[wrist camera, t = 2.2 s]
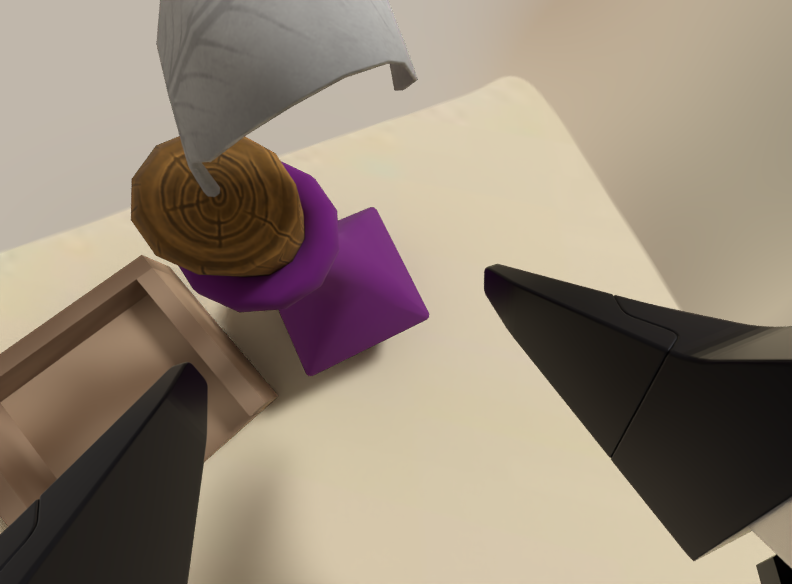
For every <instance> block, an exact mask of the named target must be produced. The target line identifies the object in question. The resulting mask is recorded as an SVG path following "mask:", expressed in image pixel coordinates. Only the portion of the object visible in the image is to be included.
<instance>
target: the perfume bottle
mask: <svg viewBox="0 0 792 584" xmlns="http://www.w3.org/2000/svg"><path fill="white" fill-rule="evenodd" d="M157 49H158V53H159V57H160V61H161V66H162V70H163V74H164V79H165V83H166V87H167V91H168V96H169V99H170V103H171V106H172V110H173V114H174V117H175V121H176V124H177V128H178V131H179V135H180V136H179V137H176V138H174V139H171V140H169V141H166V142H164V143H161V144H159V145H156V146H155V148H154V149H153V150H152V152H151V153H150V155H149V156H148V158H147V159H146V160H145V162H144V163H143V164H142V166H141V167H140V168H139V170H138V171H137V172H136V174H135V175H134V177H133V178H132V192H131V221H132V222H133V223H134V225H135V226H136V228H137V229H138V231H139V232H140V233H141V235H142V236H143V238H144V239H145V241H146V242H147V244H148V245H149V246H150V248H151V249H152V251H153V252H154V254H155V255H156V256H158V257H160V258H163V259H165V260H167V261H169V262H172V263H174V264H176V265H178V266H179V267H180V269H181V271H182V272H183V274H184V275H185V277H186V279H187V280H188V282H189V283H190V285H191V286H192V288H193V289H194V290H195V291H196V292H197V293H198V294H200V295H202V296H205V297H207V298H209V299H211V300H213V301H216V302H218V303H220V304H222V305H224V306H226V307H229V308H231V309H233V310H235V311H237V312H251V311H265V310H279V312H280V315H281V317H282V319H283V322H284V324H285V326H286V329H287V331H288V333H289V335H290V338H291V340H292V342H293V345H294V347H295V349H296V352H297V354H298V356H299V359H300V361H301V363H302V365H303V368H304V370H305V372H306V374H307V375H308V376H313V375H315V374H317V373H319V372H321V371H324V370H326V369H328V368H330V367H332V366H334V365H336V364H338V363H340V362H342V361H344V360H346V359H348V358H350V357H352V356H354V355H356V354H358V353H360V352H362V351H364V350H366V349H368V348H370V347H372V346H374V345H376V344H378V343H380V342H382V341H384V340H386V339H388V338H390V337H392V336H394V335H397V334H399V333H401V332H403V331H405V330H407V329H409V328H411V327H413V326H415V325H417V324H419V323H421V322H423V321H425V320H427V319H428V318H429V312H428V310H427V308H426V306H425V304H424V302H423V301H422V299H421V297H420V295H419V293H418V291H417V289H416V287H415V285H414V283H413V281H412V279H411V277H410V275H409V273H408V271H407V269H406V267H405V265H404V263H403V261H402V259H401V257H400V255H399V253H398V251H397V249H396V247H395V245H394V243H393V241H392V239H391V237H390V235H389V233H388V231H387V229H386V227H385V225H384V223H383V221H382V219H381V217H380V215H379V213H378V212H377V210H376V209H375V208H374V207H370V208H367V209H365V210H363V211H360V212H358V213H355V214H353V215H350V216H348V217H346V218H343V219H341V220H338V218H337V210H336V208H335V207H334V206H333V204H332V203H331V201H330V200H329V198H328V197H327V195H326V194H325V193H324V191H323V190H322V188H321V187H320V185H319V184H318V182H317V181H316V179H314V178H313V177H312V176H311V175H309V174H306V173H304V172H302V171H300V170H298V169H296V168H294V167H292V166H290V165H288V164H286V163H283V162H281V161H280V160H279V158H278V157H277V155H276V154H275V153H274V152H272V151H270V150H268V149H267V148H265V147H263V146H261V145H259V144H258V143H256V142H254V141H252V140H250V139H248V138H246V137H245V136H246V135H247V134H249V133H251V132H252V131H254V130H255V129H257V128H259V127H260V126H262V125H263V124H265V123H267V122H268V121H270V120H271V119H273V118H275V117H276V116H278V115H279V114H281V113H282V112H284V111H286V110H287V109H289V108H291V107H292V106H294V105H296V104H298V103H300V102H301V101H303V100H305V99H307V98H308V97H310V96H312V95H314V94H316V93H318V92H320V91H321V90H323V89H325V88H327V87H329V86H330V85H332V84H334V83H336V82H338V81H340V80H342V79H343V78H346V77H348V76H352V75H355V74H358V73H361V72H364V71H367V70H370V69H372V68H376V67H378V66H382V65H385V64H390V68H391V74H392V79H393V85H394V90H404V89H406V88H407V87H409V86H410V85H411V84H412V83H414V82H415V81H417V80H418V79H417V76H416V73H415V70H414V67H413V64H412V62H411V59H410V56H409V53H408V50H407V47H406V44H405V42H404V39H403V37H402V34H401V32H400V29H399V26H398V24H397V21H396V19H395V16H394V13H393V11H392V8H391V6H390V3H389V1H388V0H160V9H159V20H158V32H157Z"/></svg>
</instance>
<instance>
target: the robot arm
mask: <svg viewBox="0 0 792 584" xmlns="http://www.w3.org/2000/svg"><path fill="white" fill-rule="evenodd" d="M484 291H485V294H486V296H487V298H488V299H489V301H490V302H491V304H492V306H493V307H494V309H495V310H496V312H497V314H498V315H499V317H500V318H501V320H502V322H503V323H504V325H505V326H506V328H507V329H508V331H509V332H510V333H511V335H512V336H513V337H514V339H515V340H516V341H517V342H518V344H519V345H520V346H521V347H522V349H523V350H524V351H525V352H526V354H527V355H528V356H529V357H530V359H531V360H532V361H533V362H534V364H535V365H536V366H537V367H538V369H539V370H540V371H541V372H542V374H543V375H544V376H545V377H546V379H547V380H548V381H549V382H550V384H551V385H552V386H553V387H554V389H555V390H556V391H557V392H558V394H559V395H560V396H561V397H562V399H563V400H564V401H565V402H566V404H567V405H568V406H569V407H570V409H571V410H572V411H573V412H574V414H575V415H576V416H577V417H578V419H579V420H580V421H581V422H582V424H583V425H584V426H585V427H586V429H587V430H588V431H589V432H590V434H591V435H592V436H593V437H594V439H595V440H596V441H597V442H598V444H599V445H600V446H601V447H602V449H603V450H604V451H605V452H606V454H607V455H608V456H609V457H610V458H611V460H612V461H613V463H614V464H615V465H616V466H617V468H618V469H619V470H620V471H621V473H622V474H623V475H624V476H625V478H626V479H627V480H628V481H629V483H630V484H631V485H632V486H633V488H634V489H635V490H636V491H637V493H638V494H639V495H640V496H641V498H642V499H643V500H644V501H645V503H646V504H647V505H648V506H649V508H650V509H651V510H652V511H653V513H654V514H655V515H656V516H657V518H658V519H659V520H660V521H661V523H662V524H663V525H664V526H665V528H666V529H667V530H668V531H669V533H670V534H671V535H672V536H673V538H674V539H675V540H676V541H677V543H678V544H679V545H680V546H681V548H682V549H683V550H684V551H685V552H686V554H687V555H688V556H689V557H690V558H691V559H692V560H693V561H696V560H698V559H699V558H701V557H703V556H705V555H707V554H709V553H711V552H713V551H715V550H717V549H718V548H720V547H722V546H724V545H726V544H728V543H730V542H732V541H734V540H736V539H737V538H739V537H741V536H743V535H745V534H747V533H749V532H751V531H753V532H754V533H755V534H756V535H757V536H758V537H759V538H760V539H761V540H762V541H763V542H764V543H765V544H766V545H767V546H768V547H769V548H771V549H772V550H773V551H774V552H775V553H776V555H774V556H772V557H770V558H768V559H766V560H765V561H763V562H761V563H759V564H757V565H756V567H757V570H758V574H759V578H760V581H761V584H792V326H788V327H766V326H755V325H747V324H742V323H736V322H732V321H727V320H722V319H718V318H713V317H708V316H703V315H699V314H694V313H689V312H684V311H680V310H675V309H670V308H666V307H661V306H657V305H652V304H648V303H644V302H640V301H636V300H632V299H628V298H625V297H621V296H617V295H614V296H613V295H612V294H609V293H606V292H602V291H598V290H594V289H591V288H587V287H583V286H579V285H575V284H572V283H568V282H564V281H560V280H557V279H553V278H549V277H545V276H542V275H538V274H534V273H530V272H526V271H523V270H519V269H515V268H511V267H508V266H504V265H500V264H495V265H492V266H489V267H486V268H485V271H484ZM207 416H208V385H207V382H206V380H205V378H204V377H203V376H202V375H201V374H200V372H199V371H198V370H197V369H196V368H195V367H194V365H193V364H192V363H190V362H184V363H181V364H178V365H174V366H172V367H171V368H170V369H169V370H167V371H166V372H165V373H164V374H163V375H162V376H161V377H160V378H159V379H158V380H157V381H156V382H155V383H154V384H153V385H152V386H151V387H150V388H149V389H148V390H147V391H146V392H145V393H144V394H143V395H142V396H141V397H140V398H139V399H138V400H137V401H136V402H135V403H134V404H133V405H132V406H131V407H130V408H129V409H128V410H127V411H126V412H125V413H124V414H123V415H122V416H121V417H120V418H119V419H118V420H117V421H116V422H115V423H114V424H113V425H112V426H111V427H110V428H109V429H108V430H107V431H106V432H104V433H103V434H102V435H101V436H100V437H99V438H98V439H97V440H96V441H95V442H94V443H93V444H92V445H91V446H90V447H89V448H88V449H87V450H86V451H85V452H84V453H83V454H82V455H81V456H80V457H79V458H78V459H77V460H76V461H75V462H74V463H73V464H72V465H71V466H70V467H69V468H68V469H67V470H66V471H65V472H64V473H63V474H62V475H61V476H60V477H59V478H58V479H57V480H56V481H55V482H54V483H53V484H52V485H51V486H50V487H49V488H48V489H47V490H46V491H45V492H44V493H43V494H41V496H40V499H37V500H35V501H34V502H33V503H32V504H31V505H30V506H29V507H28V508H27V509H26V510H25V511H24V512H23V513H22V514H21V515H20V516H19V517H18V518H17V519H16V520H15V521H14V522H13V523H12V524H11V525H10V526H9V527H8V528H7V529H6V530H5V531H4V532H2V533H1V534H0V584H188V576H189V569H190V561H191V554H192V547H193V539H194V532H195V524H196V517H197V509H198V502H199V495H200V487H201V480H202V472H203V465H204V457H205V450H206V442H207Z"/></svg>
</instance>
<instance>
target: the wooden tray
mask: <svg viewBox="0 0 792 584" xmlns="http://www.w3.org/2000/svg"><path fill="white" fill-rule="evenodd" d="M184 362H190V363H192V364H193V365H194V367H195V368H196V369H197V370H198V371H199V372H200V374H201V375H202V376H203V377H204V378H205V380H206V382H207V385H208V416H207V442H206V450H205V457H204V462H205V461H206V460H207V459H208V458H209V457H210V456H212V455H213V454H214V453H215V452H216V451H217V450H218V449H220V448H221V447H222V446H223V445H224V444H225V443H226V442H227V441H229V440H230V439H231V438H232V437H233V436H234V435H235V434H236V433H238V432H239V431H240V430H241V429H242V428H243V427H244V426H245V425H247V424H248V423H249V422H250V421H251V420H252V419H253V418H254V417H256V416H257V415H258V414H259V413H260V412H261V411H262V410H263V409H265V408H266V407H267V406H268V405H269V404H270V403H271V402H272V401H274V400H275V399H276V398H277V397H278V395H277V394H276V393H275V392H274V390H273V389H272V388H271V387H270V386H269V384H268V383H267V382H266V381H265V380H264V379H263V377H262V376H261V375H260V374H259V373H258V371H257V370H256V369H255V368H254V367H253V365H252V364H251V363H250V362H249V361H248V360H247V358H246V357H245V356H244V355H243V354H242V352H241V351H240V350H239V349H238V348H237V346H236V345H235V344H234V343H233V342H232V341H231V339H230V338H229V337H228V336H227V335H226V333H225V332H224V331H223V330H222V329H221V327H220V326H219V325H218V324H217V323H216V322H215V320H214V319H213V318H212V317H211V316H210V314H209V313H208V312H207V311H206V310H205V308H204V307H203V306H202V305H201V304H200V303H199V301H198V300H197V299H196V298H195V297H194V295H193V294H192V293H191V292H190V291H189V289H188V288H187V287H186V286H185V285H184V284H183V282H182V281H181V280H180V279H179V278H178V276H177V275H176V274H175V273H174V272H173V270H172V269H171V268H170V267H169V266H166V265H164V264H162V263H159V262H157V261H155V260H152V259H150V258H148V257H145V256H143V255H141V256H139V257H138V258H137V259H135V260H134V261H132V262H131V263H129V264H128V265H127V266H125V267H124V268H122V269H121V270H119V271H118V272H117V273H115V274H114V275H112V276H111V277H109V278H108V279H107V280H105V281H104V282H102V283H101V284H99V285H98V286H97V287H95V288H94V289H92V290H91V291H89V292H88V293H87V294H85V295H84V296H82V297H81V298H79V299H78V300H77V301H75V302H74V303H72V304H71V305H69V306H68V307H67V308H65V309H64V310H62V311H61V312H59V313H58V314H57V315H55V316H54V317H52V318H51V319H49V320H48V321H47V322H45V323H44V324H42V325H41V326H39V327H38V328H37V329H35V330H34V331H32V332H31V333H29V334H28V335H27V336H25V337H24V338H22V339H21V340H19V341H18V342H17V343H15V344H14V345H12V346H11V347H9V348H8V349H7V350H5V351H4V352H2V353H1V354H0V516H1V518H2V519H3V520H4V522H5V523H6V525H7V526H8V527H9V526H10V525H11V524H12V523H13V522H14V521H15V520H16V519H17V518H18V517H19V516H20V515H21V514H22V513H23V512H24V511H25V510H26V509H27V508H28V507H29V506H30V505H31V504H32V503H33V502H34V501H35V500H37V499H40V496H41V494H43V493H44V492H45V491H46V490H47V489H48V488H49V487H50V486H51V485H52V484H53V483H54V482H55V481H56V480H57V479H58V478H59V477H60V476H61V475H62V474H63V473H64V472H65V471H66V470H67V469H68V468H69V467H70V466H71V465H72V464H73V463H74V462H75V461H76V460H77V459H78V458H79V457H80V456H81V455H82V454H83V453H84V452H85V451H86V450H87V449H88V448H89V447H90V446H91V445H92V444H93V443H94V442H95V441H96V440H97V439H98V438H99V437H100V436H101V435H102V434H103V433H104V432H106V431H107V430H108V429H109V428H110V427H111V426H112V425H113V424H114V423H115V422H116V421H117V420H118V419H119V418H120V417H121V416H122V415H123V414H124V413H125V412H126V411H127V410H128V409H129V408H130V407H131V406H132V405H133V404H134V403H135V402H136V401H137V400H138V399H139V398H140V397H141V396H142V395H143V394H144V393H145V392H146V391H147V390H148V389H149V388H150V387H151V386H152V385H153V384H154V383H155V382H156V381H157V380H158V379H159V378H160V377H161V376H162V375H163V374H164V373H165V372H166V371H167V370H169V369H170V368H171V367H172V366H174V365H178V364H181V363H184Z"/></svg>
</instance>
